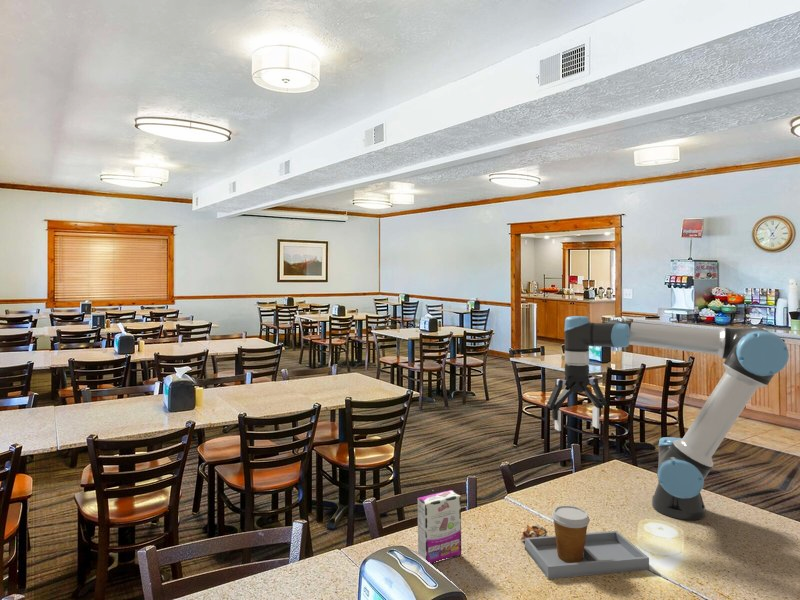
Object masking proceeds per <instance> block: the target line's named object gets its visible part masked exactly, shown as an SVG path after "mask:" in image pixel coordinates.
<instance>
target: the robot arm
mask: <svg viewBox="0 0 800 600" xmlns="http://www.w3.org/2000/svg"><path fill="white" fill-rule="evenodd" d="M563 331H564V363H565V364H564V379H560V378H556V379H555V383H554V384H555V385H554V387H553V390H552V392H551V394H550V396H549V397H548V401H547V403H546V407H547V408H548V409H551V417H552V418H551V419H552V420H554V430H556V431H558V432H561V431H562V411H561V410H560V408H561V407H562V405H563V404H564V402H566V401H567V398H568V397H569V396H570V395H572V394H573V393H574V394H575V393H581V394H582V393H584V394H585V395H586V396H587V398H588V399H589V400H590V401H591V402H592V404H593V405H594V406H592V407H591V408H592V415H591V416H592V424H591V425H592V427H593V428H595V429H600V418H601V417H602V409H603V408H604V406H607V405H608V402H607V400H606V398H605V396H604V394H603V391H602V389H601V388H600V386H599V380H598V378H597V377H594V376H591V377H589V376H590V365H589V363H590V347H607V348H609V347H610V348H616V349H617V348H618V349H619V348H627V347H629V346H630V345H631V346H638V347H639V346H641V347H649V348H656V349H657V348H658V349H664V350H665V349H666V350H672V351H673V350H674V351H680V352H682V351H683V352H689V353H690V352H692V353H699V354H700V353H701V354H709V355H717V356H718V357H719V358H720V359H724V362H723V367H724V370H725V371H724V373H723V375H722V376H721V378H720V380H719V381H718V383H717V384H716V386H715V387H714V388H713V390H712V392H711V393H710V394H709V397H708V398H707V400H706V401H705V403H704V405H703V406H702V407H701V408H700V410H699V412H698V414H697V415H696V417H695V418H694V420H693V422H692V423H691V425H690V426H689V428H688V429H687V431H686V432H685V434H684V436H683V437H671V436H670V437H668V436H666V437H661V438H659V440H658V441H659V442H658V445H657V446H658V465H657V467H658V468H657V471H656V476H657V480H658V483H657V485H656V488H655V491H654V494H653V495H652V497H651V506H652V508H653V509H654V510H655V511H657V512H658V513H661V514H662V515H664V516H667V517H671V518H675V519H678V520H687V521H695V520H696V521H697V520H701V519H703V518H705V516H706V506H705V503H704V500H703V497H702V494H701V492H702V490H703V487H704V486H705V479H706V478H707V476H708V475H709V473H710V471H711V470H712V468H713V467H714V462H713V455H715V452H716V451H717V450H718V448H719V447H720V446H721V444H722V442H723V441H724V439H725V438H726V436H727V434H728V433H729V432H730V430H731V429H732V427H733V426H734V424H735V422H736V421H737V419H738V418H739V416H740V415H741V414H742V412H743V410H744V409H745V407H746V406H747V404H748V403H750V402H749V401H750V400H751V398H753V395H754V394H755V393H756V391H757V389H759V388H762V387H767V386H768V385H769V384H770V382H771V381H772V379H773V378H774V376H775V375H776V374H778V373H779V372H781V371H783V369H784V368H785V367H786V365H787V364H788V361H789V358H790V357H789V356H790V355H789V354H790V353H789V349H788V347H787V344H786V343H785V341H784V340H783V339H782V338H781V337H780V336H779V335H777V334H775V333H774V332H771V331H769V330H766V329H763V328H758V327H746V328H745V327H744V328H742V327H741V328H739V327H738V328H737V327H736V328H735V327H734V328H732V327H723V328H720V329H718V330H717V329H708V328H707V329H706V328H698V327H697V328H696V327H687V326H686V327H684V326H676V325H664V324H655V323H643V322H633V321H632V322H631V321H622V320H618V319H611V320H608V321H606V322H590V319H589V317H588V316H583V315H582V316H581V315H580V316H579V315H571V316H567V317H566V318H565V319H564V329H563ZM589 384H590V385H591V388H592V390H593V392H594V393H593V392H592V390H591V389H590V388H589ZM563 386H564V388H563ZM561 391H562V392H561ZM594 394H595V395H594Z"/></svg>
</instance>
